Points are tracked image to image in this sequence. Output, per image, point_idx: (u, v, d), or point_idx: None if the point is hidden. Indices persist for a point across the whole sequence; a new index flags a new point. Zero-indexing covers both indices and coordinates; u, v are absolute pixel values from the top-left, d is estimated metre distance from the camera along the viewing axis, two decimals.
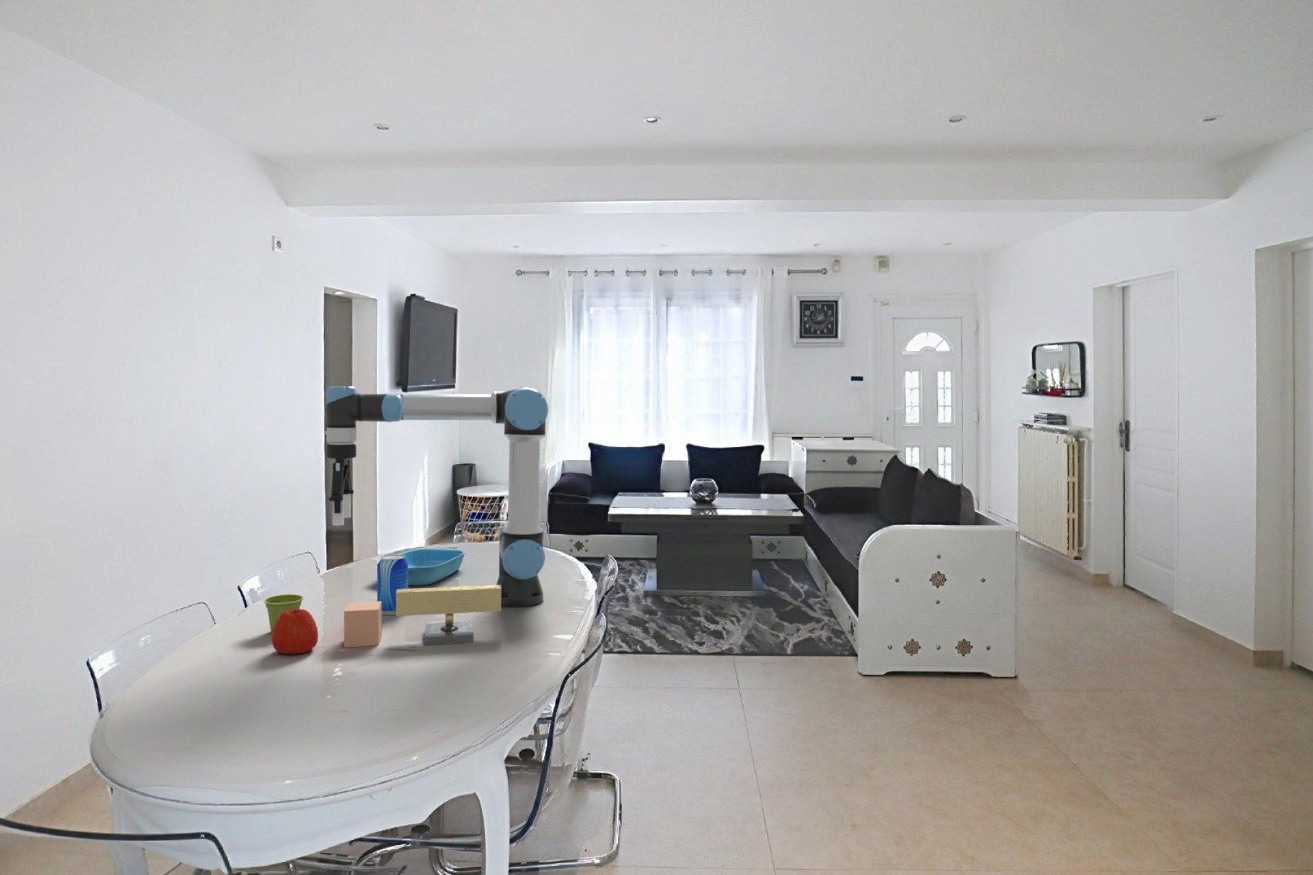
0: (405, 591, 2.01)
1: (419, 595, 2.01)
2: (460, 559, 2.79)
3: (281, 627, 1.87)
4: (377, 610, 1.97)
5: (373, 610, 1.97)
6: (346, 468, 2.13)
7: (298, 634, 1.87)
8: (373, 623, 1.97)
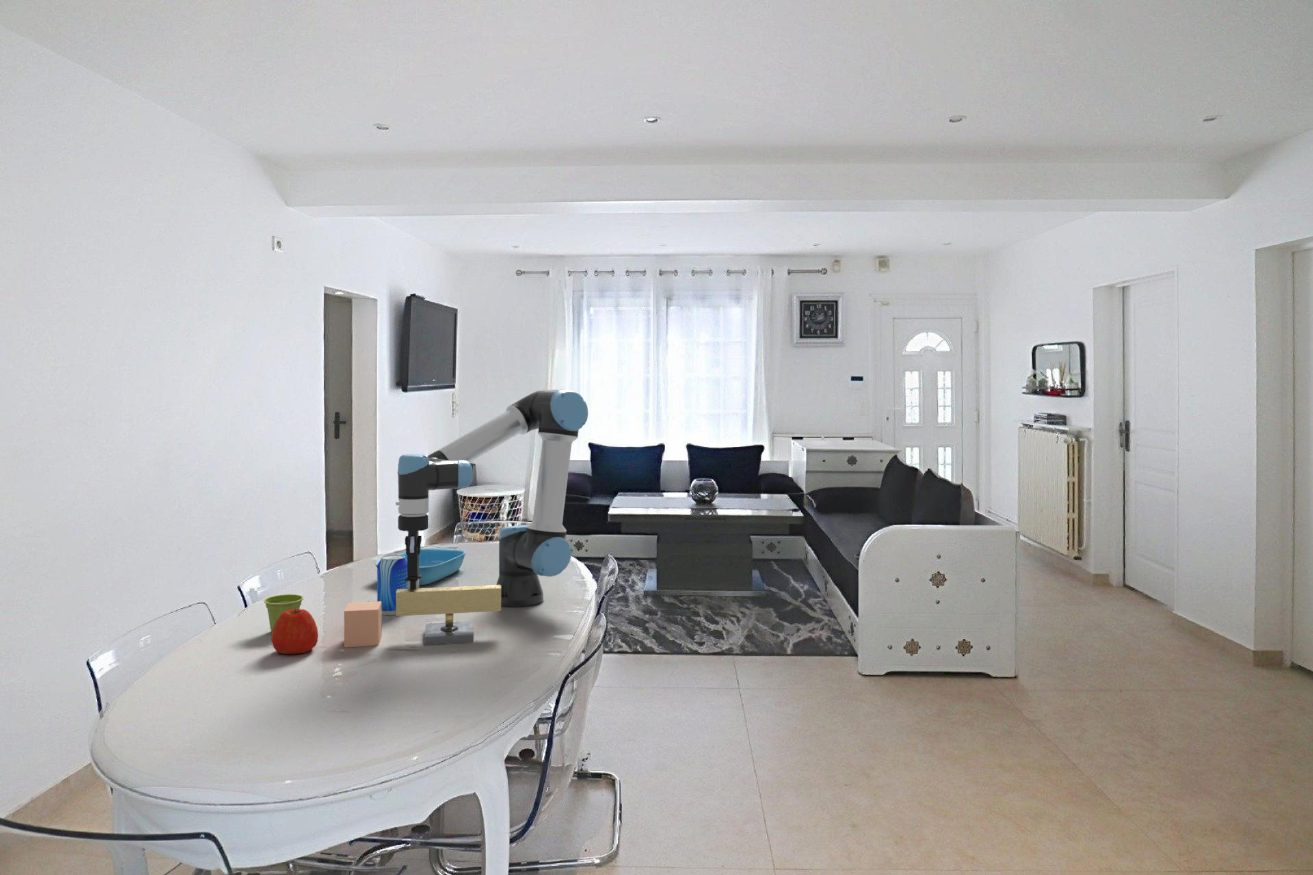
0: (405, 591, 2.01)
1: (419, 595, 2.01)
2: (460, 559, 2.78)
3: (281, 627, 1.87)
4: (377, 610, 1.97)
5: (373, 610, 1.97)
6: (419, 543, 2.04)
7: (298, 634, 1.87)
8: (373, 623, 1.97)
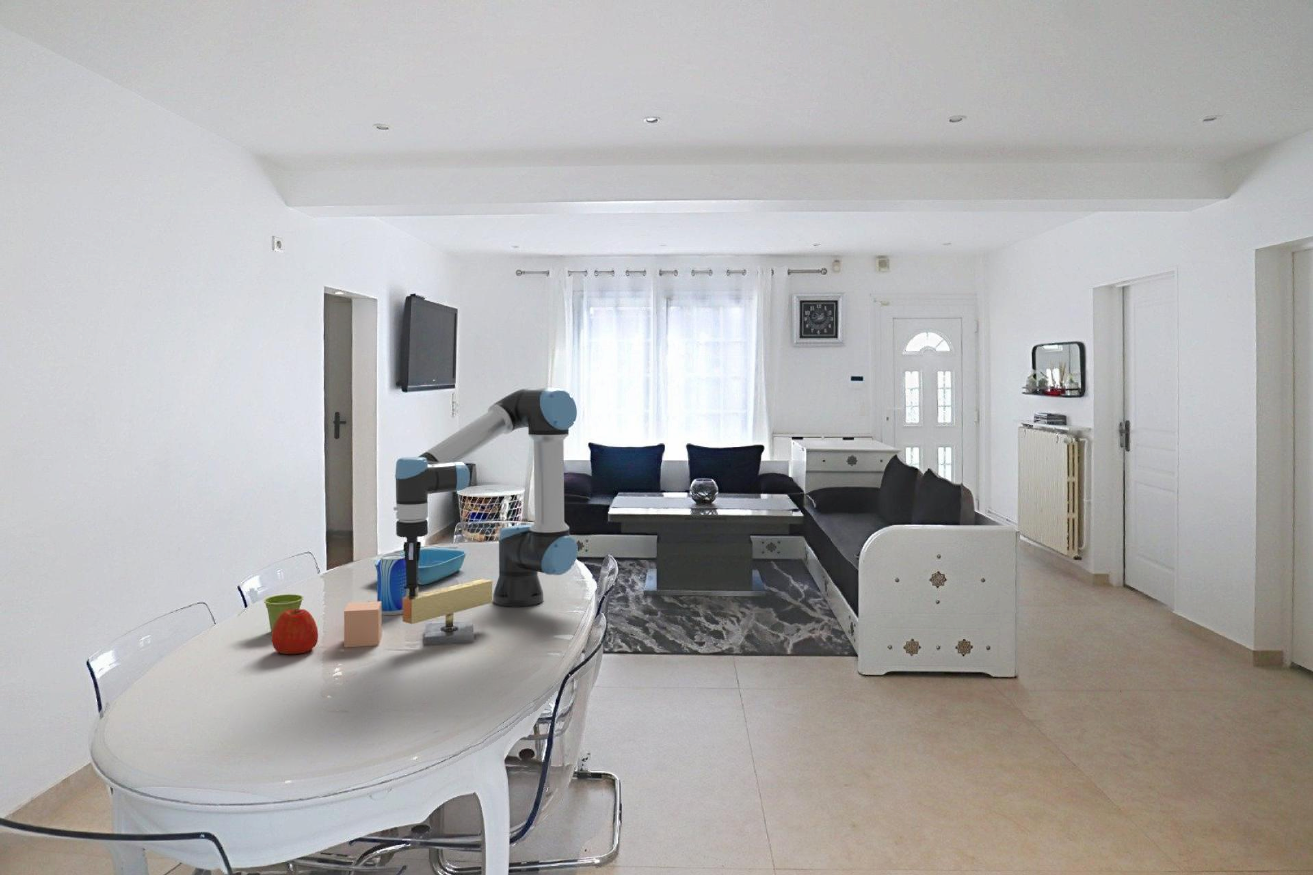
0: (417, 597, 1.95)
1: (430, 599, 1.98)
2: (460, 560, 2.78)
3: (281, 627, 1.87)
4: (377, 610, 1.97)
5: (373, 610, 1.97)
6: (418, 549, 1.96)
7: (298, 634, 1.87)
8: (373, 623, 1.97)
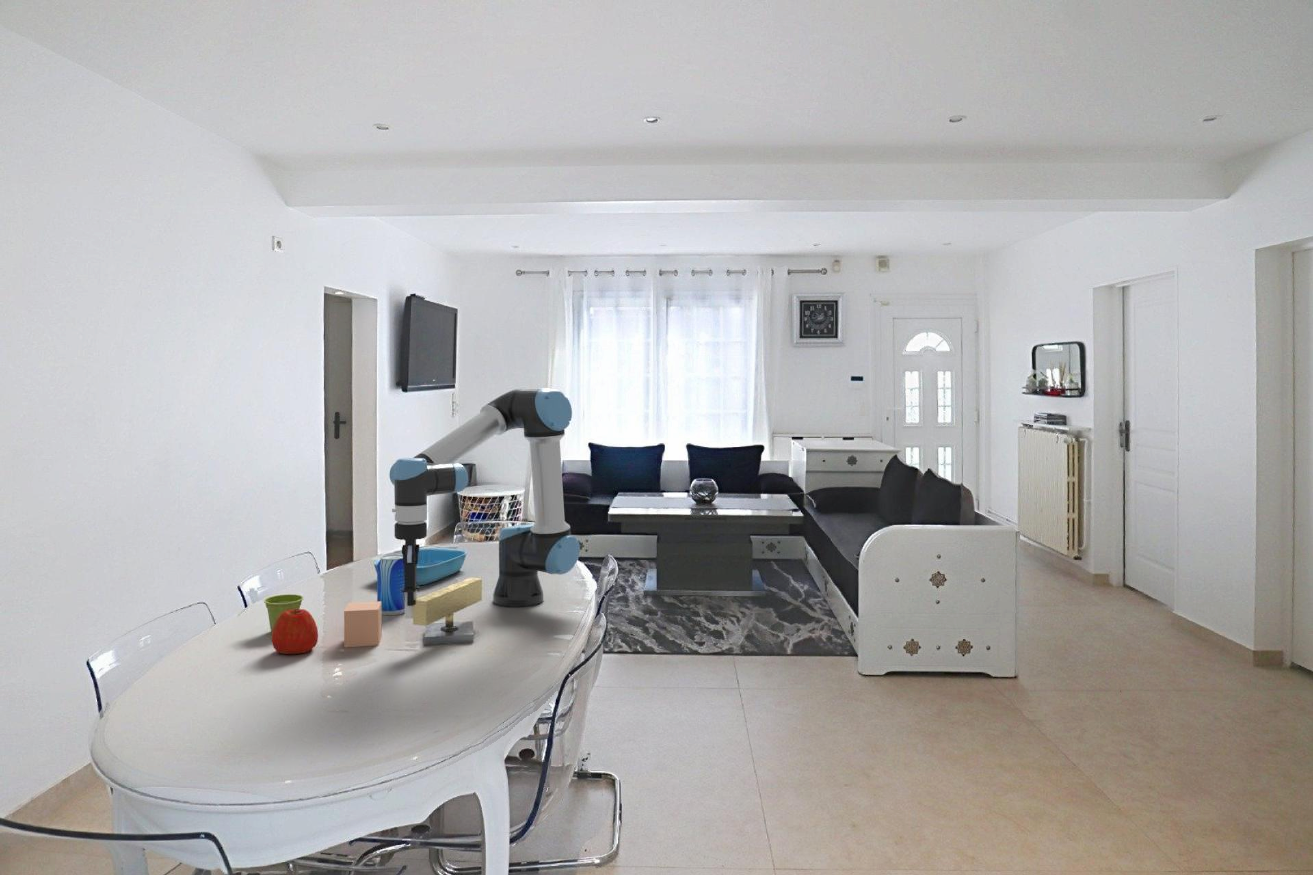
0: (428, 598, 1.94)
1: (439, 599, 1.97)
2: (460, 560, 2.77)
3: (281, 627, 1.87)
4: (377, 610, 1.97)
5: (373, 610, 1.97)
6: (416, 552, 1.92)
7: (298, 634, 1.87)
8: (373, 623, 1.97)
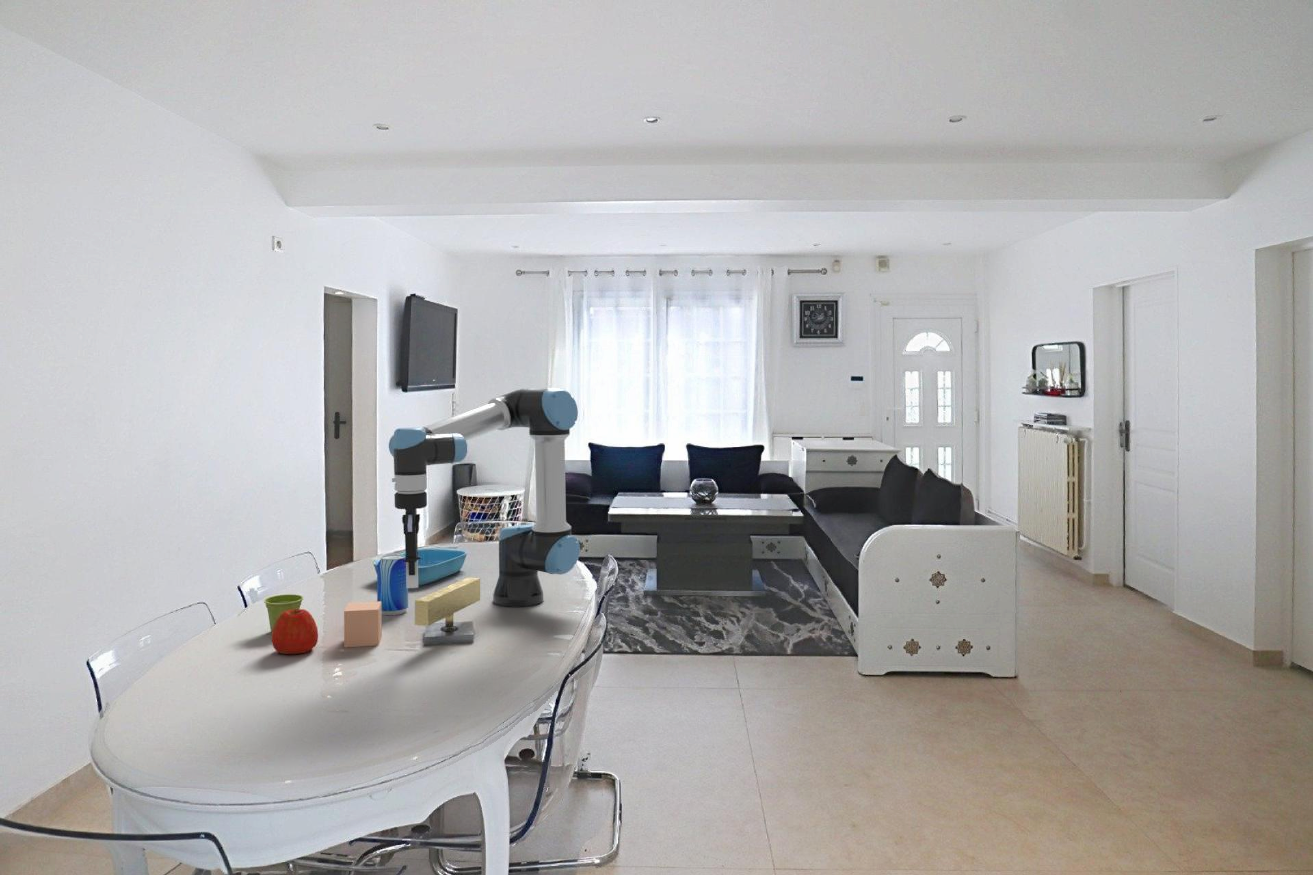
0: (429, 599, 1.94)
1: (440, 599, 1.97)
2: (460, 560, 2.77)
3: (281, 627, 1.87)
4: (377, 610, 1.97)
5: (373, 610, 1.97)
6: (417, 521, 1.92)
7: (298, 634, 1.87)
8: (373, 623, 1.97)
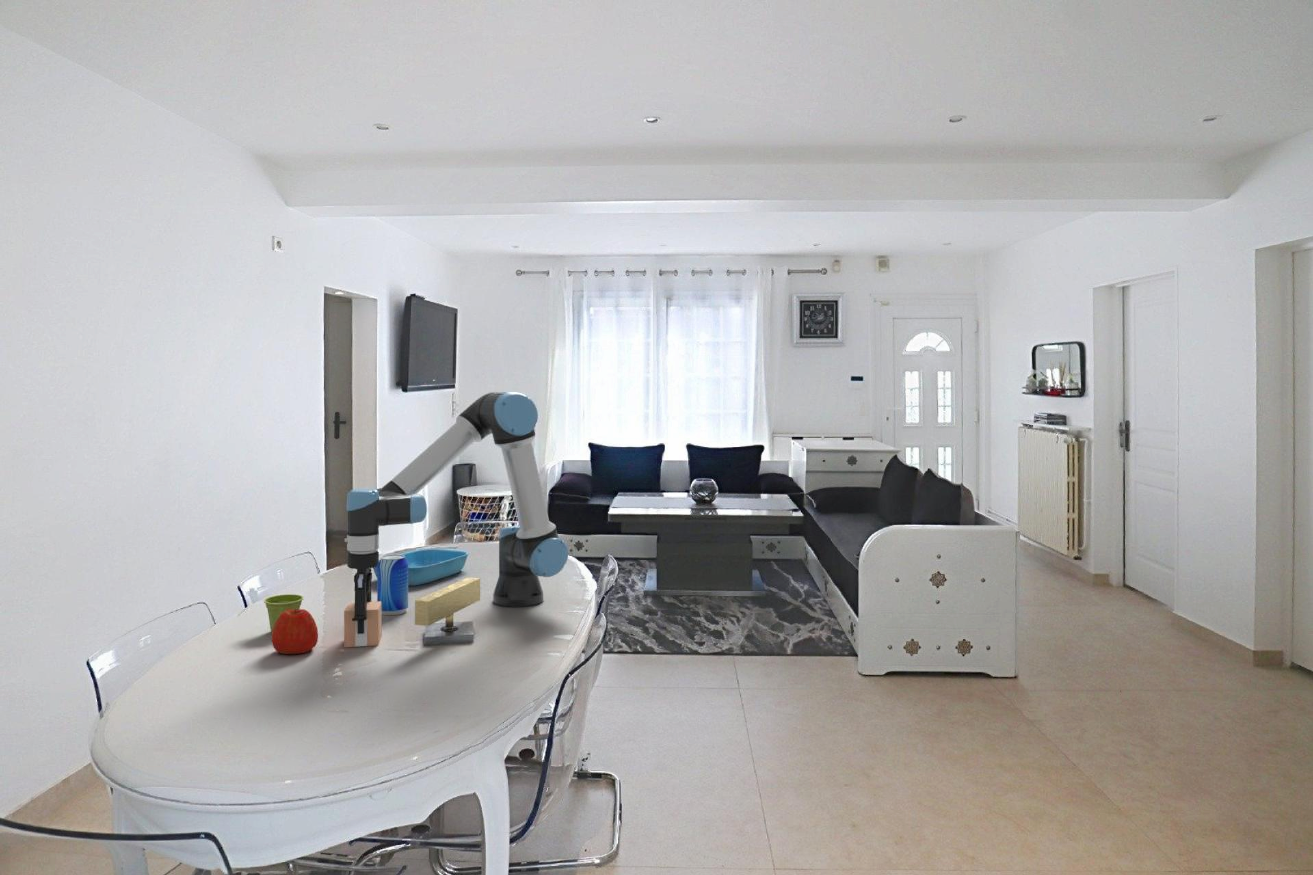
0: (429, 599, 1.94)
1: (440, 599, 1.97)
2: (460, 561, 2.76)
3: (281, 627, 1.87)
4: (377, 610, 1.97)
5: (373, 610, 1.97)
6: (368, 579, 1.98)
7: (298, 634, 1.87)
8: (373, 623, 1.97)
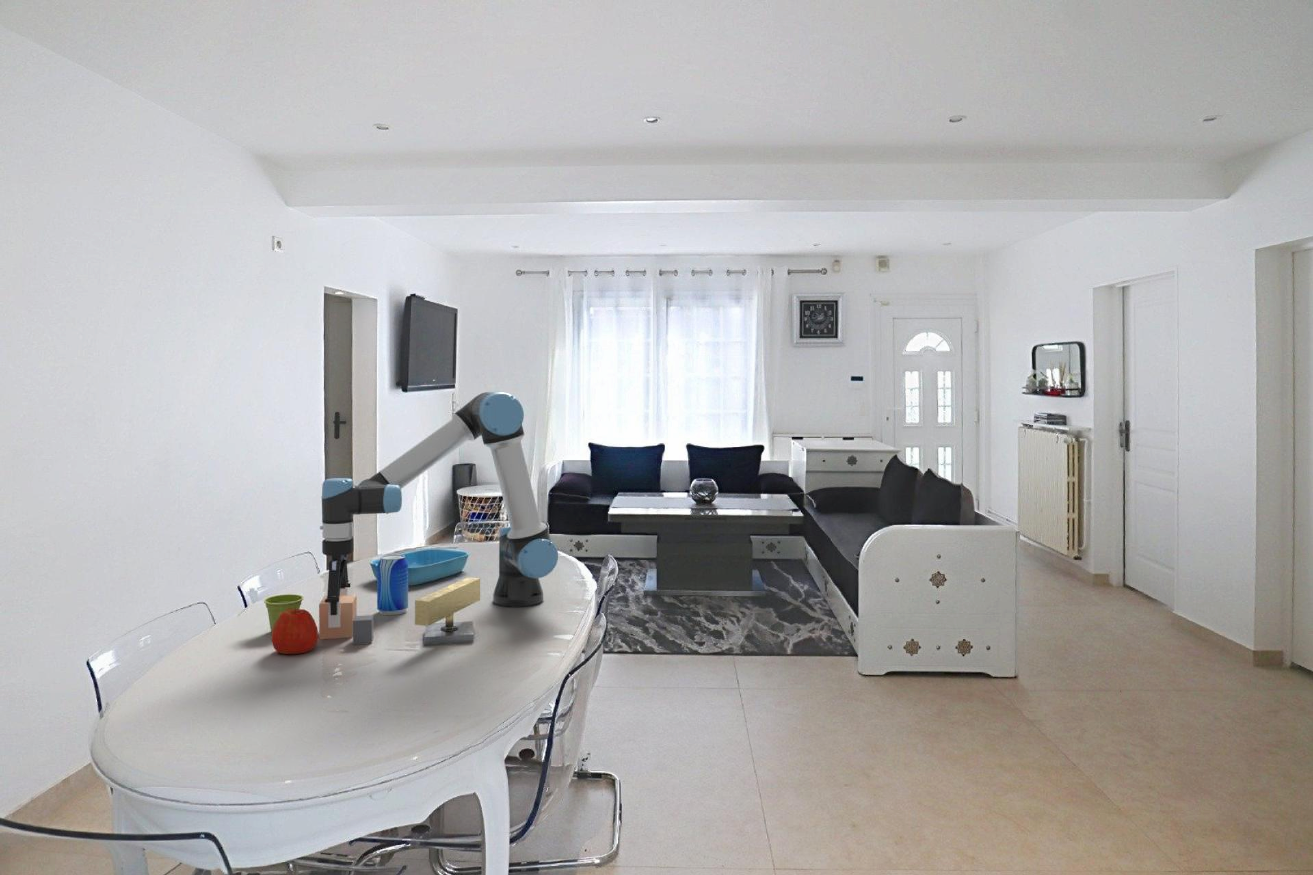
0: (429, 599, 1.94)
1: (440, 599, 1.97)
2: (459, 561, 2.75)
3: (281, 627, 1.87)
4: (351, 603, 2.03)
5: (347, 603, 2.03)
6: (343, 565, 2.04)
7: (298, 634, 1.87)
8: (347, 615, 2.03)
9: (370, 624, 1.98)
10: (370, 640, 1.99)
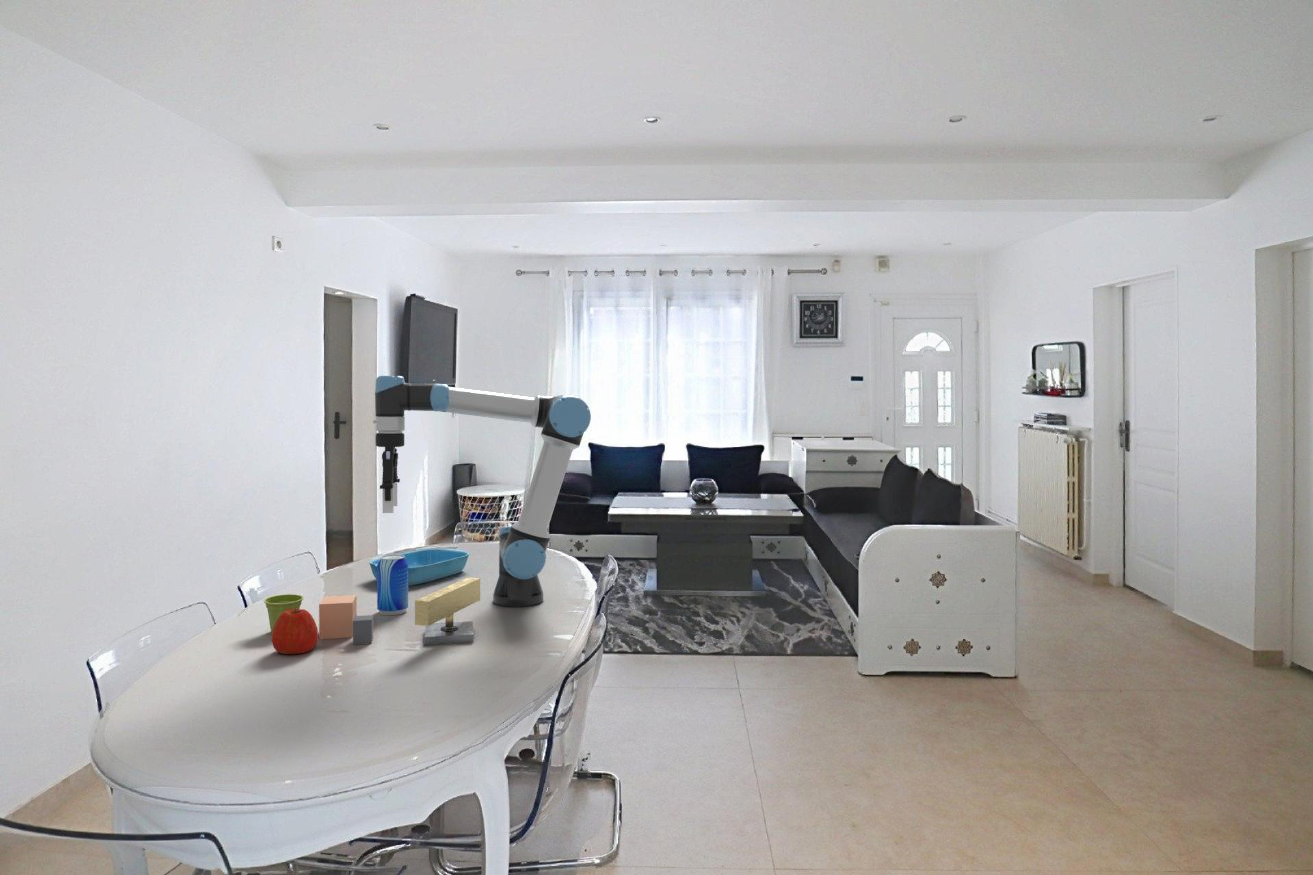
0: (429, 599, 1.94)
1: (440, 599, 1.97)
2: (459, 562, 2.75)
3: (281, 627, 1.87)
4: (351, 603, 2.03)
5: (347, 603, 2.03)
6: (395, 456, 2.16)
7: (298, 634, 1.87)
8: (347, 615, 2.03)
9: (370, 624, 1.98)
10: (370, 640, 1.99)
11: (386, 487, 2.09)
